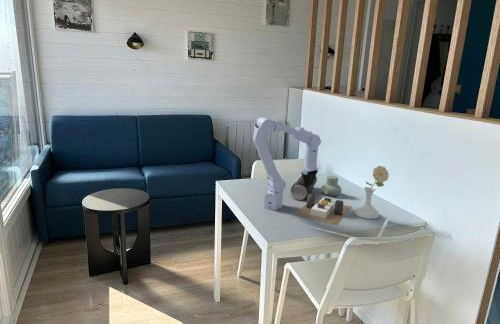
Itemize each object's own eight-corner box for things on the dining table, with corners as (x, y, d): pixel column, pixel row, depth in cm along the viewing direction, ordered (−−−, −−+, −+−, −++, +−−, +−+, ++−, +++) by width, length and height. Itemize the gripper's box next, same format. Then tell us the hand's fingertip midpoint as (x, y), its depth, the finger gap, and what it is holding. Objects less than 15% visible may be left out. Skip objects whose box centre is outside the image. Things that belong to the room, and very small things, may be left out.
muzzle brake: (305, 190, 210) (320, 181, 206) (295, 205, 184) (312, 196, 180) (296, 176, 210) (311, 167, 206) (284, 190, 185) (301, 180, 180)
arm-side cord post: (312, 209, 172) (313, 197, 170) (305, 207, 174) (306, 195, 172) (315, 207, 175) (316, 195, 173) (308, 205, 177) (309, 193, 175)
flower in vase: (355, 220, 164) (362, 167, 158) (351, 211, 175) (358, 160, 169) (385, 223, 162) (393, 169, 156) (379, 213, 173) (387, 163, 167)
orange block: (327, 205, 169) (327, 202, 169) (321, 203, 170) (321, 200, 170) (328, 204, 170) (328, 201, 170) (322, 202, 172) (322, 199, 171)
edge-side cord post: (340, 215, 166) (342, 203, 164) (333, 214, 167) (334, 201, 166) (342, 213, 169) (344, 201, 167) (335, 211, 170) (336, 199, 169)
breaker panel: (336, 227, 156) (338, 215, 154) (293, 216, 165) (294, 205, 163) (351, 208, 178) (352, 198, 176) (312, 200, 187) (313, 190, 186)
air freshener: (319, 191, 201) (320, 174, 199) (332, 190, 204) (334, 173, 201) (329, 198, 191) (331, 180, 189) (342, 197, 194) (344, 179, 191)
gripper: (313, 162, 165) (311, 190, 169) (323, 156, 178) (321, 183, 181) (299, 160, 169) (297, 188, 172) (310, 154, 181) (307, 180, 184)
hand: (308, 185), depth 177 cm, fingers open, 4 cm apart
